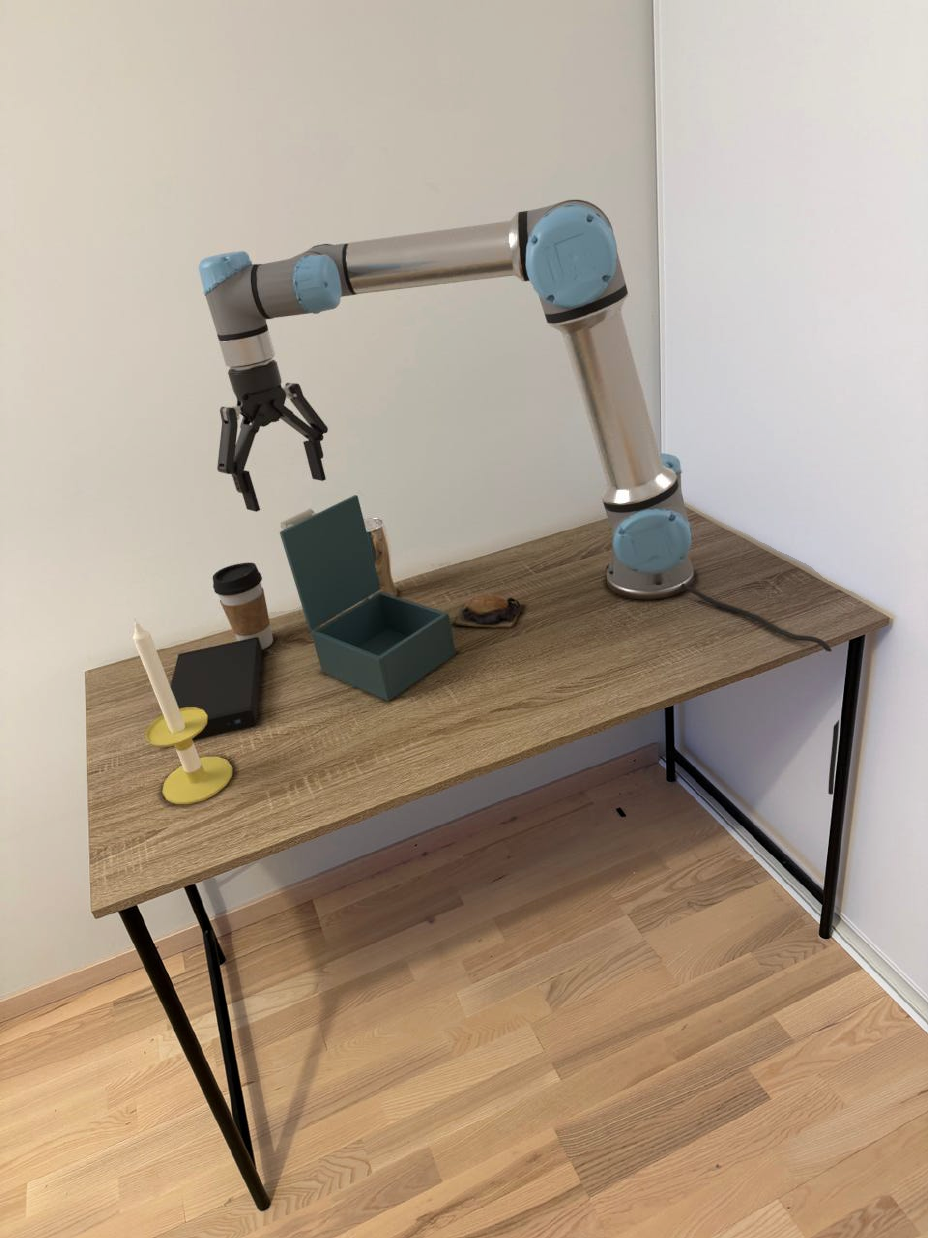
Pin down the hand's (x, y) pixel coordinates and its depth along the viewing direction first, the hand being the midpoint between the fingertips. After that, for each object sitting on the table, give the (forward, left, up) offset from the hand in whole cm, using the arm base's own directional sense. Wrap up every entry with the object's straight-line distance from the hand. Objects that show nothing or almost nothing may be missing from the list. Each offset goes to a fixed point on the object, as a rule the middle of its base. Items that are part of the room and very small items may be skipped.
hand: (287, 494), depth 138 cm
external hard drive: (+2, +22, -28) cm, 35 cm away
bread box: (-17, 0, -28) cm, 32 cm away
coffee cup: (+10, +8, -28) cm, 31 cm away
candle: (-15, +36, -28) cm, 48 cm away
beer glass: (+2, -16, -28) cm, 32 cm away
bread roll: (-22, -20, -28) cm, 41 cm away
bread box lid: (-9, 0, -11) cm, 14 cm away
